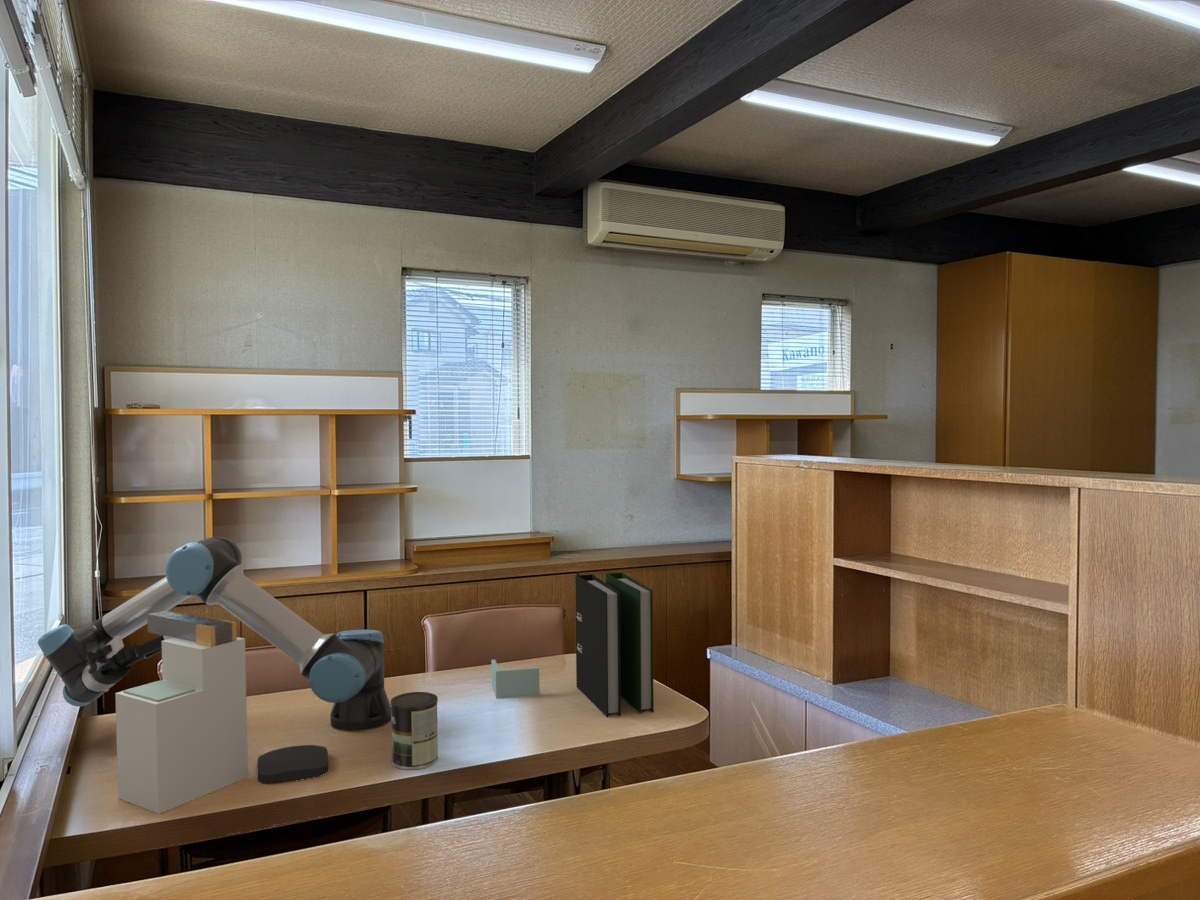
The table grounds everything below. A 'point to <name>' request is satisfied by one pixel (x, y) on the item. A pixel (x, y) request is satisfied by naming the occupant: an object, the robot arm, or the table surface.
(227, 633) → the grey rectangular bar
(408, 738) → the coffee can
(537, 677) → the right angle wall
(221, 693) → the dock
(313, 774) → the media streaming box
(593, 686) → the dark upright rectangular slabs
